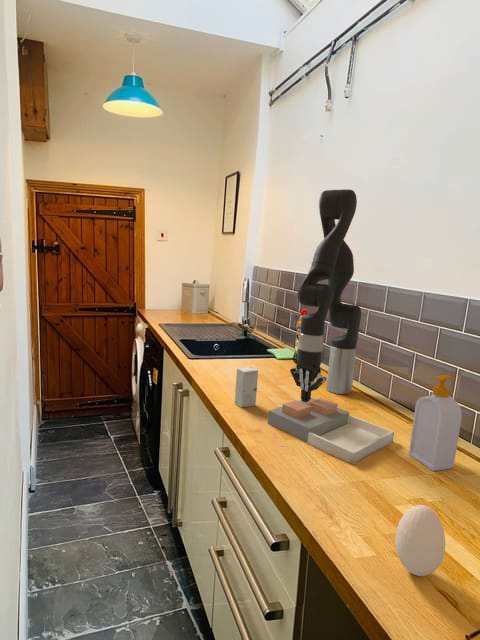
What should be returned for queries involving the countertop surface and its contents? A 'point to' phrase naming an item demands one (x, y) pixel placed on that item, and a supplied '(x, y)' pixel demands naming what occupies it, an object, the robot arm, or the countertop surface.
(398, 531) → the egg
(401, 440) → the countertop surface
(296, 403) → the tile
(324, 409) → the tile
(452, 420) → the soap bottle
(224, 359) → the countertop surface
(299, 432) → the board
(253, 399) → the skincare box
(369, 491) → the countertop surface
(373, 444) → the tray
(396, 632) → the countertop surface
